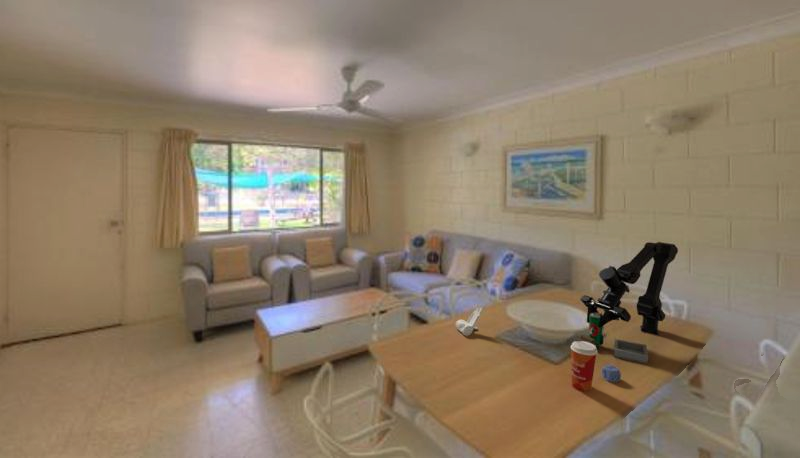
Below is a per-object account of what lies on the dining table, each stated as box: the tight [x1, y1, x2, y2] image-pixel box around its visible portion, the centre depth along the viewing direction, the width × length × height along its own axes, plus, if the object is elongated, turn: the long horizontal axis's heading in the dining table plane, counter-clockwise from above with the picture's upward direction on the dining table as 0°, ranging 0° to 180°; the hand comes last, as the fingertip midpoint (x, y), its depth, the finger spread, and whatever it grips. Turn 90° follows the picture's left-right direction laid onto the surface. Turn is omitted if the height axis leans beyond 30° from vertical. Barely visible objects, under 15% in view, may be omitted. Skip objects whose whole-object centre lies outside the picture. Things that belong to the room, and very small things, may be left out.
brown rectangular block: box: [579, 334, 596, 346], centre depth 141 cm, size 2×5×4 cm, turn 23°
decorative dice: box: [601, 364, 622, 383], centre depth 119 cm, size 4×4×4 cm
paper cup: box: [570, 340, 599, 393], centre depth 114 cm, size 8×8×14 cm
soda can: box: [588, 312, 605, 346], centre depth 142 cm, size 5×5×12 cm
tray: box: [613, 338, 649, 365], centre depth 135 cm, size 10×10×3 cm
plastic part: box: [455, 303, 484, 337], centre depth 156 cm, size 8×10×12 cm
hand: (593, 324), depth 141 cm, fingers closed on soda can, 5 cm apart
